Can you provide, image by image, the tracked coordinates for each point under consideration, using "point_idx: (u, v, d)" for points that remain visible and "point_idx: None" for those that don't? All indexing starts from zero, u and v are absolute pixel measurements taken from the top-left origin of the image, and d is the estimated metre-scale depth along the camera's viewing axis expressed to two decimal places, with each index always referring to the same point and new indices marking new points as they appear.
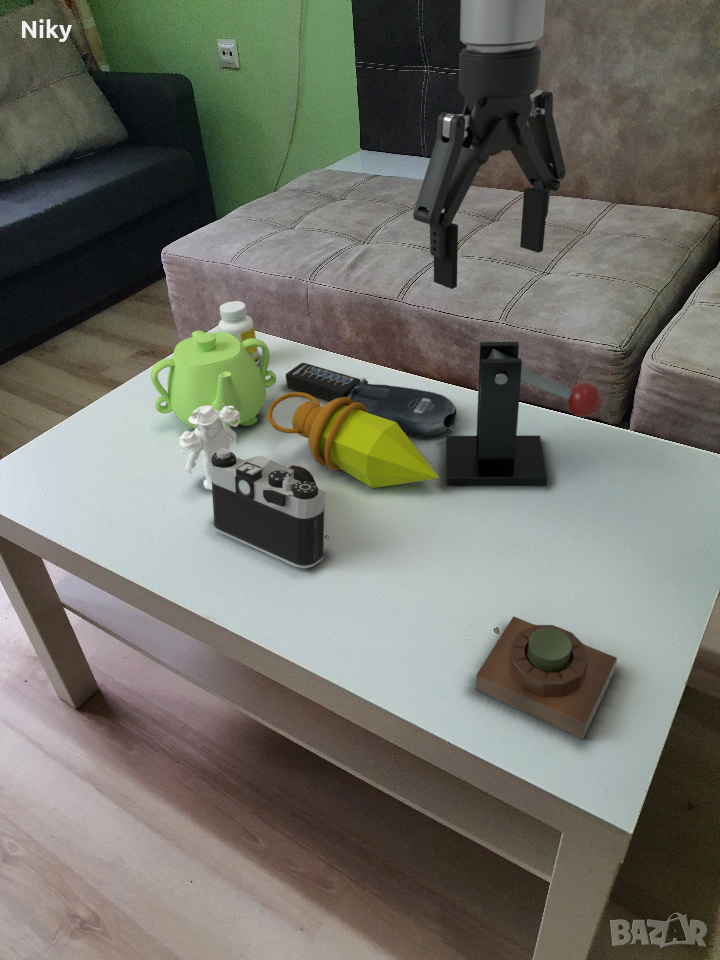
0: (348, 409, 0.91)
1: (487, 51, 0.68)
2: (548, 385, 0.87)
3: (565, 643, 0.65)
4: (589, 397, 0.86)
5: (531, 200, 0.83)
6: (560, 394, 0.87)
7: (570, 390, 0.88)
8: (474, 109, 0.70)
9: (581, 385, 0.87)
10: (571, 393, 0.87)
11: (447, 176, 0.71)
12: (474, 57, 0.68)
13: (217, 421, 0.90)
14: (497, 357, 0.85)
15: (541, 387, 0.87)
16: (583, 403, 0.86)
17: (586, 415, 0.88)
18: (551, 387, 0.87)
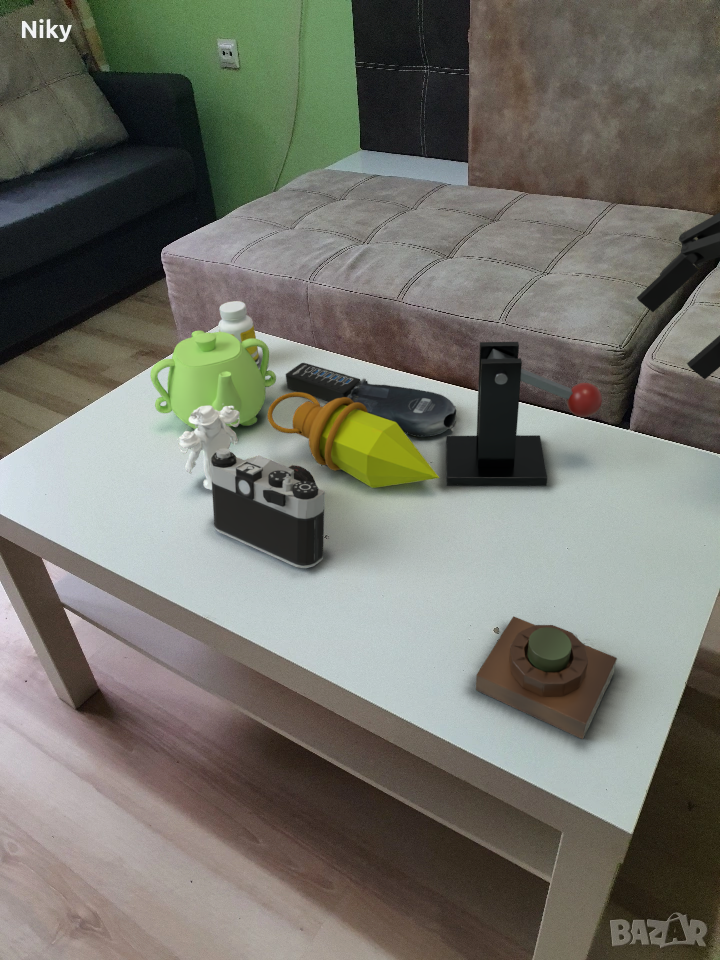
0: (348, 409, 0.91)
1: None
2: (548, 385, 0.87)
3: (565, 643, 0.65)
4: (589, 397, 0.86)
5: None
6: (560, 394, 0.87)
7: (570, 390, 0.88)
8: None
9: (581, 385, 0.87)
10: (571, 393, 0.87)
11: (717, 217, 0.83)
12: None
13: (217, 421, 0.90)
14: (497, 357, 0.85)
15: (541, 387, 0.87)
16: (583, 403, 0.86)
17: (586, 415, 0.88)
18: (551, 387, 0.87)
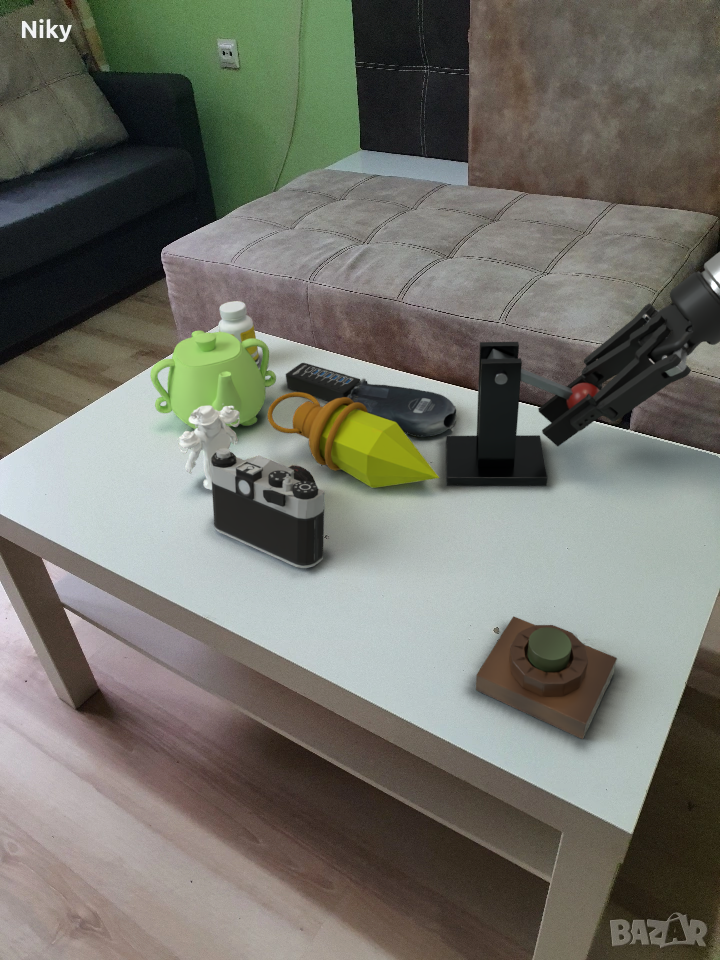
0: (348, 409, 0.91)
1: None
2: (548, 385, 0.87)
3: (565, 643, 0.65)
4: None
5: None
6: (560, 394, 0.87)
7: (570, 390, 0.88)
8: None
9: (581, 385, 0.87)
10: (571, 393, 0.87)
11: (614, 336, 0.89)
12: None
13: (217, 421, 0.90)
14: (497, 357, 0.85)
15: (541, 387, 0.87)
16: None
17: None
18: (551, 387, 0.87)
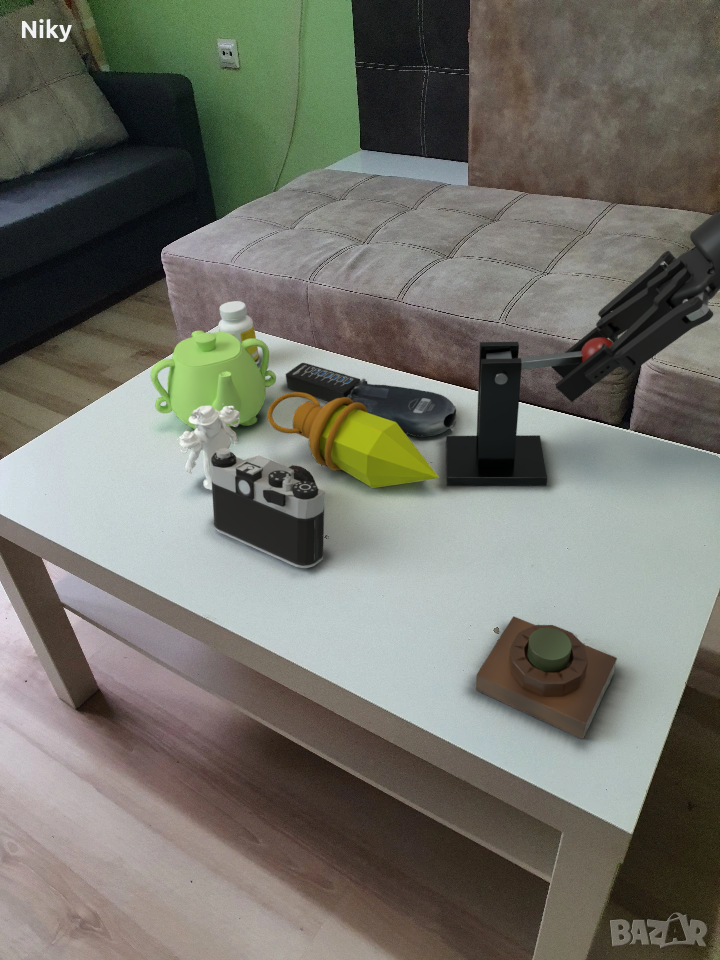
0: (348, 409, 0.91)
1: None
2: (554, 359, 0.85)
3: (565, 643, 0.65)
4: None
5: None
6: (571, 362, 0.85)
7: (579, 353, 0.85)
8: None
9: (587, 344, 0.84)
10: (581, 356, 0.84)
11: (631, 286, 0.85)
12: None
13: (217, 421, 0.90)
14: None
15: (549, 365, 0.85)
16: None
17: None
18: (558, 360, 0.85)
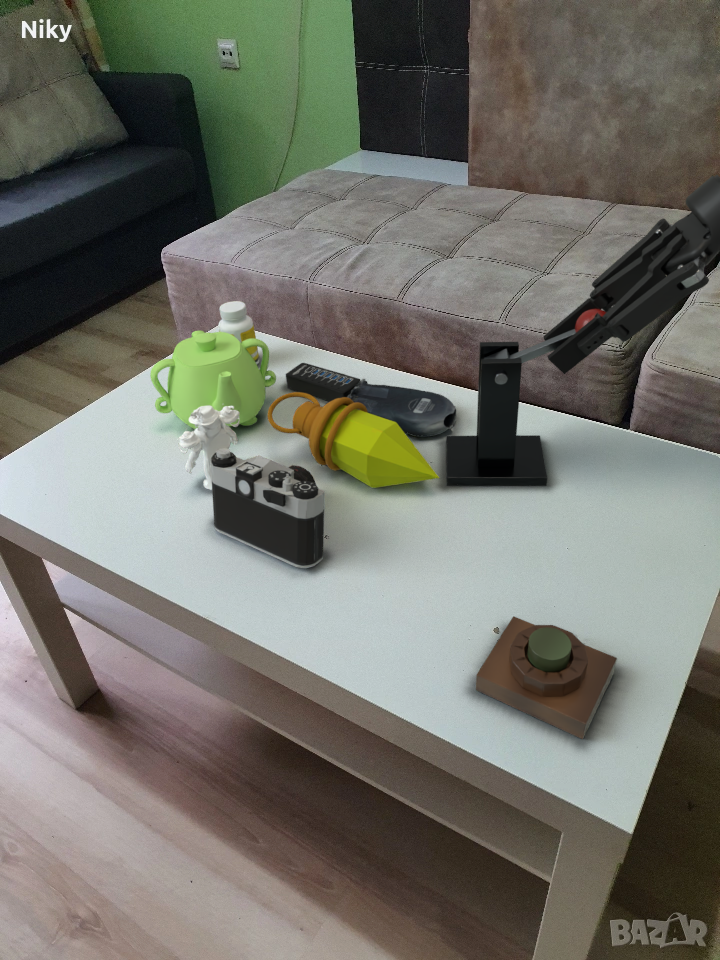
0: (348, 409, 0.91)
1: None
2: (550, 344, 0.84)
3: (565, 643, 0.65)
4: None
5: None
6: None
7: (573, 331, 0.83)
8: None
9: (577, 320, 0.82)
10: None
11: (625, 255, 0.83)
12: None
13: (217, 421, 0.90)
14: None
15: (547, 351, 0.84)
16: None
17: None
18: (554, 344, 0.84)
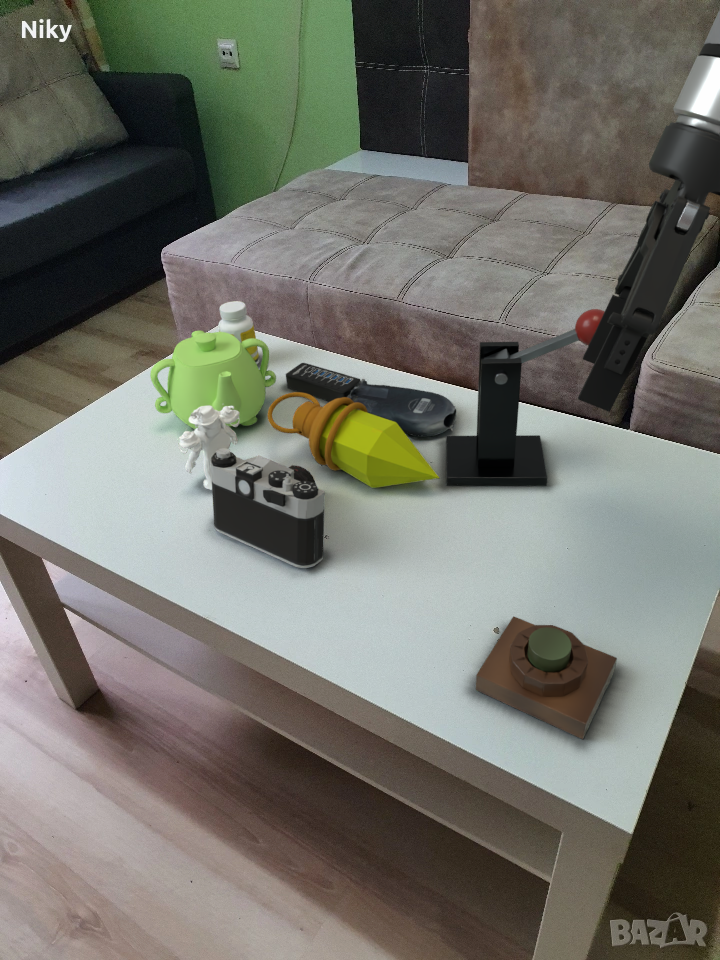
0: (348, 409, 0.91)
1: None
2: (550, 345, 0.84)
3: (565, 643, 0.65)
4: (589, 325, 0.81)
5: None
6: (568, 342, 0.83)
7: (573, 332, 0.83)
8: None
9: (578, 320, 0.82)
10: (575, 334, 0.83)
11: None
12: None
13: (217, 421, 0.90)
14: None
15: (547, 351, 0.84)
16: (589, 334, 0.81)
17: None
18: (554, 344, 0.84)
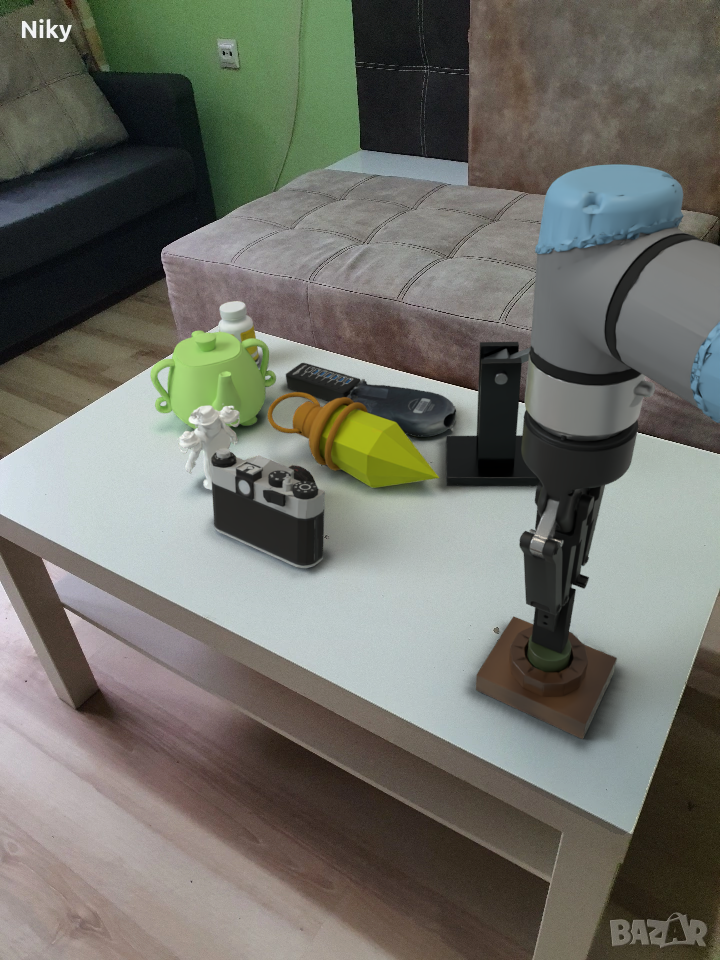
0: (348, 409, 0.91)
1: None
2: None
3: None
4: None
5: None
6: None
7: None
8: None
9: None
10: None
11: None
12: None
13: (217, 421, 0.90)
14: None
15: None
16: None
17: None
18: None
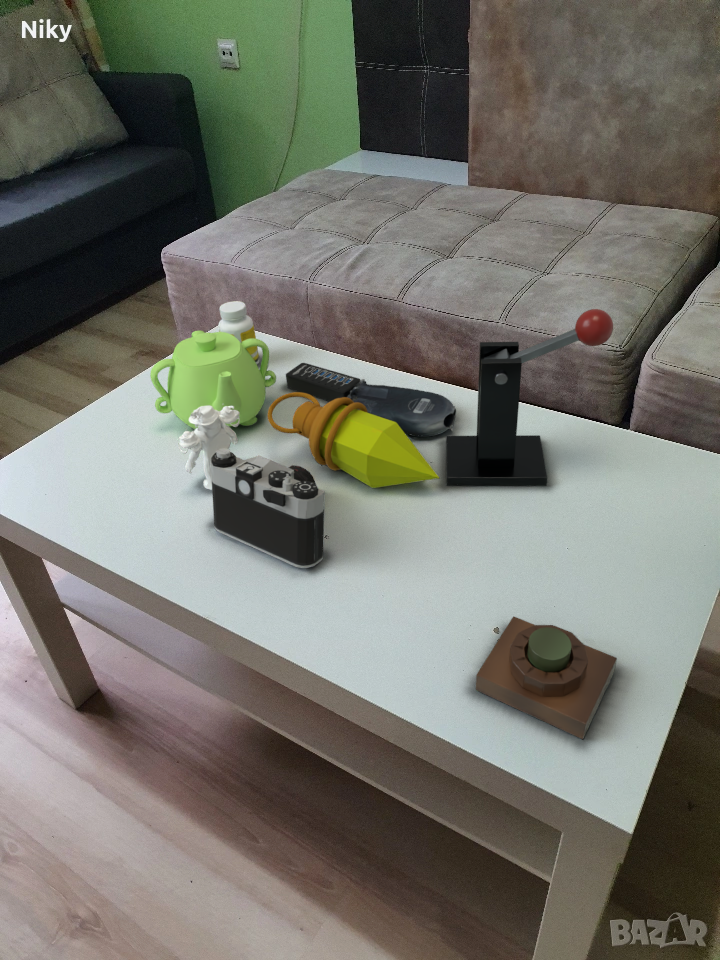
0: (348, 409, 0.91)
1: None
2: (550, 345, 0.84)
3: (565, 643, 0.65)
4: (589, 325, 0.81)
5: None
6: (568, 342, 0.83)
7: (573, 332, 0.83)
8: None
9: (578, 320, 0.82)
10: (575, 334, 0.83)
11: None
12: None
13: (217, 421, 0.90)
14: None
15: (547, 351, 0.84)
16: (589, 334, 0.81)
17: (605, 339, 0.82)
18: (554, 344, 0.84)
